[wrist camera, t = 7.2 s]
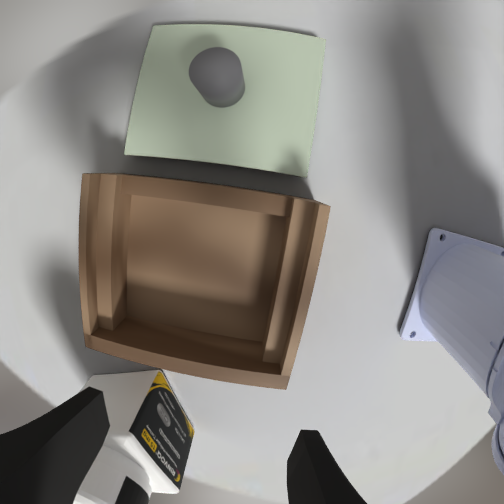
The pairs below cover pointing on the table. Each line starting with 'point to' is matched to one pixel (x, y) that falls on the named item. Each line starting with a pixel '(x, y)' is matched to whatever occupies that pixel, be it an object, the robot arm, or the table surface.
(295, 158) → the cover plate
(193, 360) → the walnut box
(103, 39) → the table surface
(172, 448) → the medicine bottle
